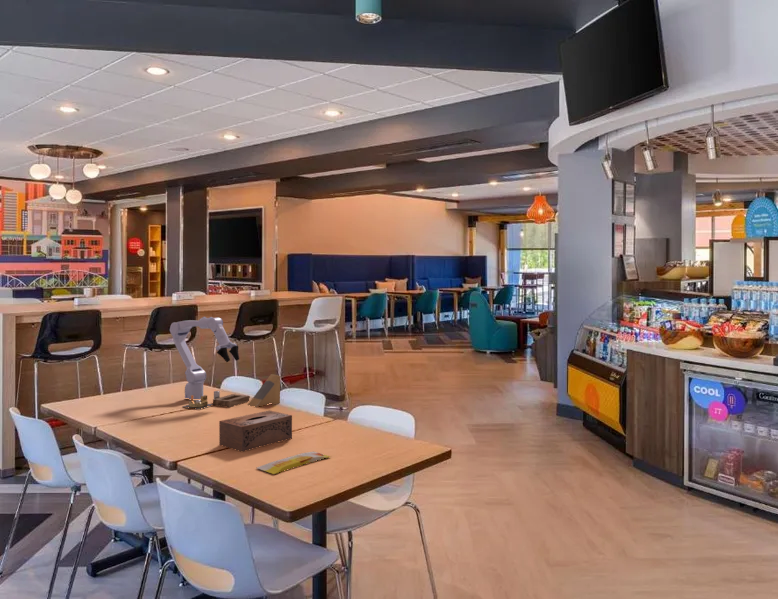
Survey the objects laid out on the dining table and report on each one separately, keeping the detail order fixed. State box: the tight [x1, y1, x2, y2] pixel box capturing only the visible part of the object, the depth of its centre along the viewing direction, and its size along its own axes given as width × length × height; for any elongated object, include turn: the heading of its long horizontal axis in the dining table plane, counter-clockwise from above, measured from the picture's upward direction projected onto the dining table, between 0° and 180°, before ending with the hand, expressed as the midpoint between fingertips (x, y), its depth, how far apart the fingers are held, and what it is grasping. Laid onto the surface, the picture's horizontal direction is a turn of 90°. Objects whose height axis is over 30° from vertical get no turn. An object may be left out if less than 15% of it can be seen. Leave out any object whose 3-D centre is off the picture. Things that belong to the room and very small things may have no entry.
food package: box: [256, 451, 332, 475], centre depth 226 cm, size 27×2×10 cm
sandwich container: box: [247, 373, 281, 408], centre depth 326 cm, size 9×15×15 cm, turn 135°
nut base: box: [182, 395, 215, 410], centre depth 319 cm, size 12×11×5 cm
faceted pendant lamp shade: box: [188, 394, 209, 407], centre depth 320 cm, size 9×10×4 cm
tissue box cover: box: [218, 410, 293, 452], centre depth 254 cm, size 26×14×10 cm, turn 141°
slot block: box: [212, 393, 250, 408], centre depth 328 cm, size 11×16×3 cm
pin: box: [213, 390, 221, 399], centre depth 329 cm, size 3×3×6 cm
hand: (233, 360), depth 325 cm, fingers open, 7 cm apart
